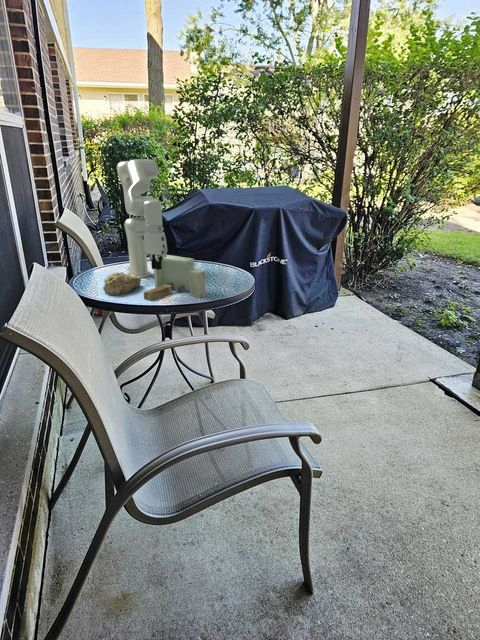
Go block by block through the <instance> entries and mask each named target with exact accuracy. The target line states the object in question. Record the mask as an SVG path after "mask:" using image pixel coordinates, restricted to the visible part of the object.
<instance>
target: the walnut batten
mask: <svg viewBox="0 0 480 640" xmlns="http://www.w3.org/2000/svg"><path fill="white" fill-rule="evenodd" d="M172 293H173V288H172V286H171V285H166V284H165V285H162V286H160V287H157V288H155V287H154V288H152V289H147V290H146V291H144V292H143V299H144V300H146V301H153V300H155V299H159V298H161V297H164V296H166V295H170V294H172Z"/></svg>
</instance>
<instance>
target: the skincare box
mask: <svg viewBox="0 0 480 640" xmlns="http://www.w3.org/2000/svg"><path fill="white" fill-rule="evenodd" d="M190 286H191V291H190V296H192V297H195V298H199V299H200V298H204V297H206V296H207V292H206V274H205V270H201V269H200V270H199V269H194V270H192V271H190Z"/></svg>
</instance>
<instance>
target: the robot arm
mask: <svg viewBox="0 0 480 640" xmlns="http://www.w3.org/2000/svg"><path fill="white" fill-rule="evenodd" d="M116 167H117V168H116V171H117V175H118V178H119V181H120V183H121V186H122V188H123V197H124V198H123V199H124V206H125V211H126V213H127V214H128V215H130V216H133V217H130V218H127V219H126V220H125V221H124V224H123V225H124V231H125V234H126V241H127V249H128V258H129V259H128V260H129V265H128V266H127V267H126V269H125V270H127V271H128V273H127V275H130V276H133V277H134V276H135V277H138V278H141V279H142V278H146V277H147V278H148V277H150V276H151V275H152V273H151V271H149V269H148V268H149V267H148V258H149V260H150V263H151V270H154V269H156V270H160V269H162V264H161V261H162V259H163V258H164V257H167V255H168V254H167V253H168V244H167V237H166V235H165V234H166V233H165V232H164V229H165V228H164V227H163V215H162V214H163V213H162V203H161V201H160V200H159V199H158V198H153V196H151V195H149V196H148V195H144V196H143V195H142V194H145V193H146V192H148V190H150V188H151V184H152V182H151V179H155V178H157V177H158V175H159V166H158V164H157V162H156V161H155V160H154V159H149V158H147V159H141V158H139V159H135V158H134V159H131V160H125V161H120V162H118V163H117V165H116ZM142 236H144V239H143V238H142ZM147 256H148V257H147ZM159 256H160V257H159Z"/></svg>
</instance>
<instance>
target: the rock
mask: <svg viewBox="0 0 480 640" xmlns="http://www.w3.org/2000/svg"><path fill="white" fill-rule="evenodd" d="M103 283H104V285H103V287H102V289H103V291H104V293H106V294H107V295H108V294H110V295H111V296H112V295H113V296H119V295H121V294H122V295H123V294H127V293H128V292H130V291H132V290H133V289H135V288H137V287H140V286H141V283H142V278H138V277H135V276H134V277H133V276H130V275H128V273H127V274H125V273H124V272H114V273H111V274H108V275H107V276H106V277H105V278H104V280H103ZM110 295H109V296H110Z"/></svg>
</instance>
